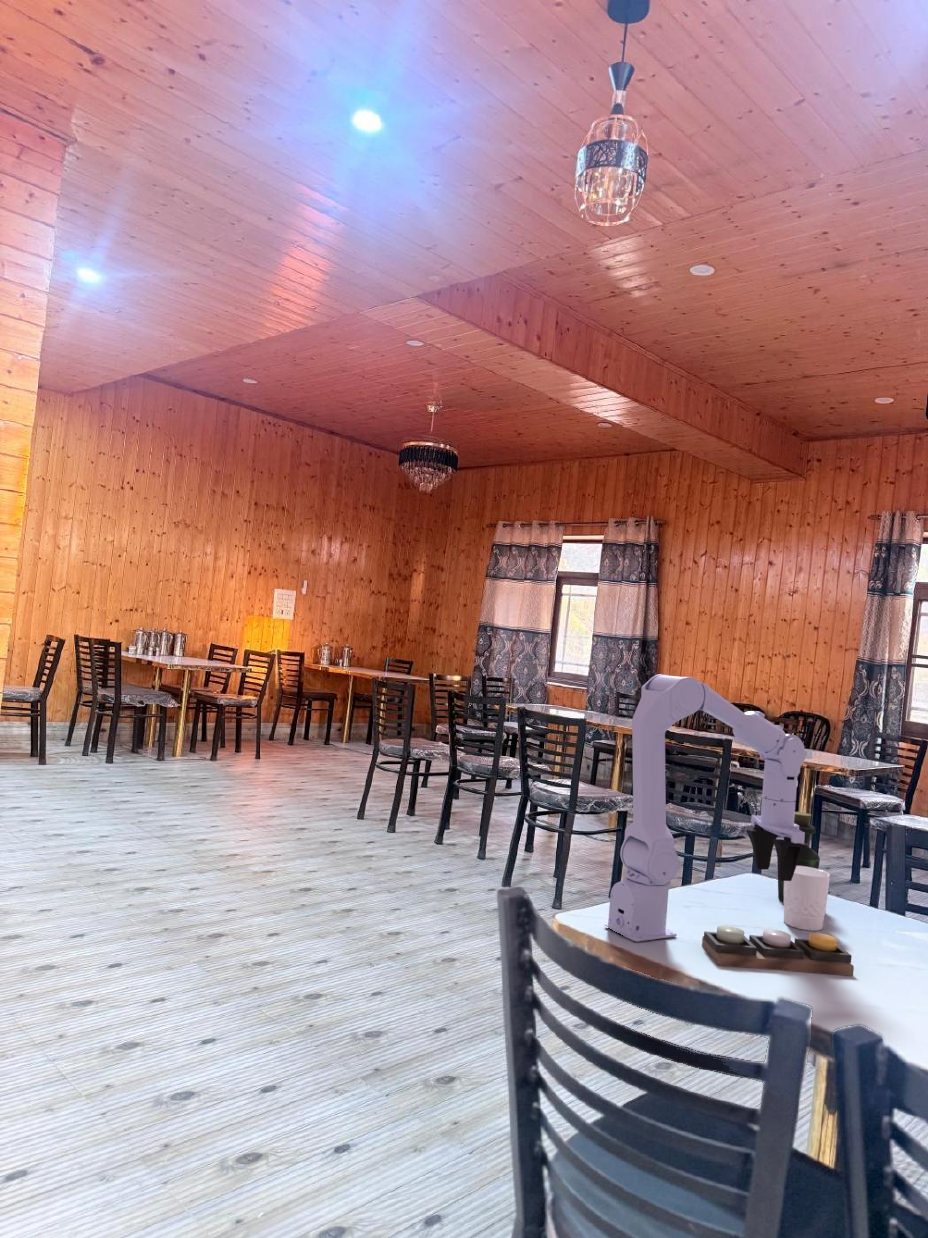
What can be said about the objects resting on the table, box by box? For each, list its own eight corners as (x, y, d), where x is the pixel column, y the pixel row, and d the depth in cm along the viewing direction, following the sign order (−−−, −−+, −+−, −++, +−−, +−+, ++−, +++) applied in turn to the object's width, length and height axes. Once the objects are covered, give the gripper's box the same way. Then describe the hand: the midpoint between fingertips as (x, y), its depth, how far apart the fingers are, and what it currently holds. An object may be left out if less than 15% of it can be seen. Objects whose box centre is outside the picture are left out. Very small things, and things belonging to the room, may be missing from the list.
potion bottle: (774, 904, 172) (781, 814, 173) (773, 894, 180) (779, 808, 180) (818, 911, 170) (824, 819, 170) (815, 901, 177) (820, 813, 178)
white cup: (822, 935, 154) (825, 879, 154) (776, 925, 158) (780, 870, 158) (829, 925, 160) (833, 871, 161) (785, 915, 164) (789, 863, 165)
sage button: (721, 942, 136) (721, 933, 136) (712, 933, 140) (713, 925, 140) (747, 944, 136) (748, 935, 136) (738, 935, 140) (739, 927, 140)
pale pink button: (768, 946, 136) (768, 937, 136) (758, 937, 140) (759, 928, 140) (794, 948, 136) (795, 939, 136) (784, 939, 140) (784, 930, 140)
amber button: (815, 949, 136) (815, 940, 136) (804, 940, 140) (804, 932, 140) (841, 951, 136) (842, 943, 136) (829, 942, 140) (830, 934, 140)
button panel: (717, 965, 133) (719, 947, 133) (700, 945, 142) (701, 929, 142) (854, 976, 134) (855, 958, 134) (828, 955, 143) (829, 939, 143)
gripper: (822, 808, 150) (817, 886, 149) (777, 793, 164) (772, 865, 164) (785, 806, 149) (780, 885, 148) (743, 791, 163) (737, 863, 162)
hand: (773, 874), depth 156 cm, fingers open, 7 cm apart
